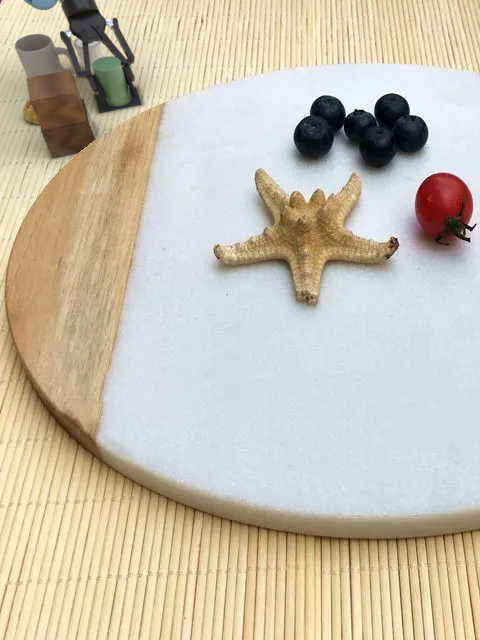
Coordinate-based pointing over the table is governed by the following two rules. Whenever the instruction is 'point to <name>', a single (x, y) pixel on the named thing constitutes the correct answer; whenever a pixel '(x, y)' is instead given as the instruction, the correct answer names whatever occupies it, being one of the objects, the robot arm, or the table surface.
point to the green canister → (112, 81)
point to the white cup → (90, 51)
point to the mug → (40, 55)
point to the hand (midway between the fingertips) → (120, 99)
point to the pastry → (30, 113)
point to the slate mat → (134, 102)
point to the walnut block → (61, 113)
